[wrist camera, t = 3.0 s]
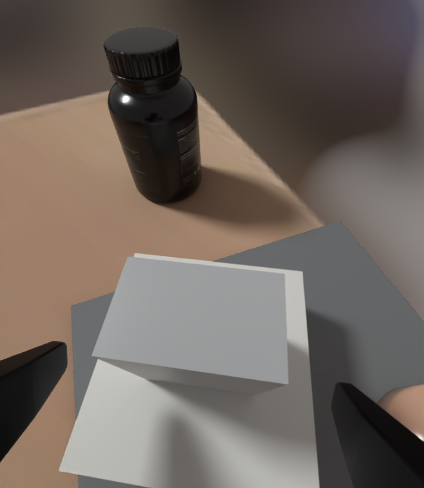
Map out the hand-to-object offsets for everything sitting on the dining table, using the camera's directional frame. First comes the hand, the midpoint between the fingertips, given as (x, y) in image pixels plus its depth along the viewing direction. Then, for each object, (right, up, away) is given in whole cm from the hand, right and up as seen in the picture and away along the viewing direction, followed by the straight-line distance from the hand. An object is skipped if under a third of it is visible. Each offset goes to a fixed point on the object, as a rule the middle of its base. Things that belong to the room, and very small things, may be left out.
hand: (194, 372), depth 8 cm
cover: (0, -4, +8) cm, 8 cm away
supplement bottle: (-4, +11, +18) cm, 21 cm away
